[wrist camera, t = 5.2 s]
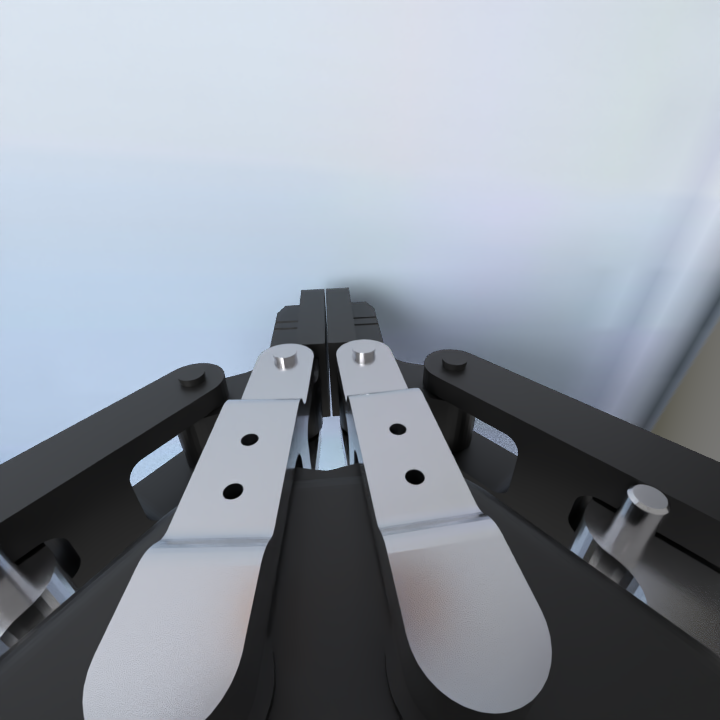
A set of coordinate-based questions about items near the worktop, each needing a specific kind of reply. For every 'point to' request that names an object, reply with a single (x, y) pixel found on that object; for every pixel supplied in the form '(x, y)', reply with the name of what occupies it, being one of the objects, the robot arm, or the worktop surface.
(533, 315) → the worktop surface
